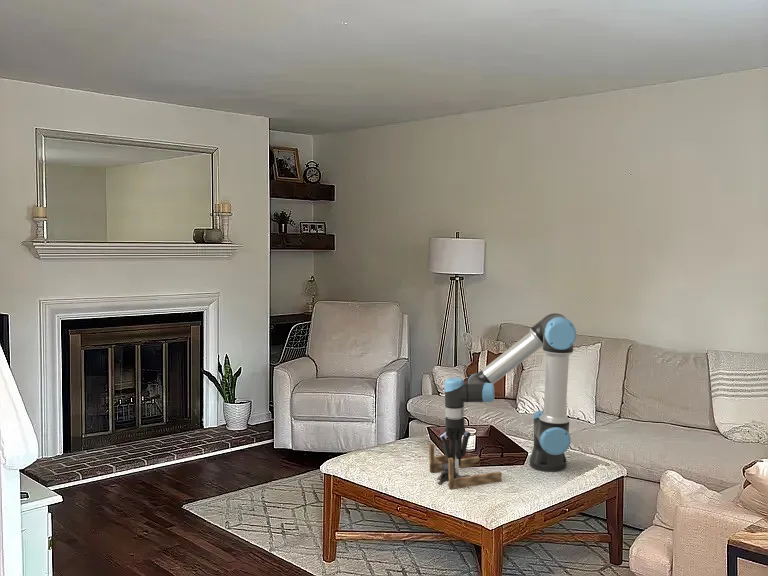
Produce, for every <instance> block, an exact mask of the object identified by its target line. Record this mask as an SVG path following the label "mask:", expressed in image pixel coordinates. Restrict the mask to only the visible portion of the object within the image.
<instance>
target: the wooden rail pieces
mask: <svg viewBox="0 0 768 576" xmlns="http://www.w3.org/2000/svg"><path fill="white" fill-rule="evenodd" d="M428 451H429V452H428V454H429V458H428V459H429V460H428V461H429V473H431V474H434V473H439V472H440V473H442V472H443V470H442V464H445V463H448V473H449V481H448V483H449V486H448V489H449V490H456V489H461V488H469V487H473V486H475V487H476V486H481V485H487V484H493V483H494V484H495V483H499V482H502V472H501V471H495V472H488V473H482V474H476V475H475V474H474V475H470V476H468V477H461V478H455V479H454V466H453V458H448V457H446V454H441V455H435V444H434V443H433V442H431V443H429V444H428ZM455 457H456V453H455ZM478 461H480V457H479V456H473V457H472V456H471V457H466V458H462V459H461V465H460V466H459V470H460V469H466V468H473V467H474V468H475V467H479V466H480V467H481V461H480V463H479V464H474V463H476V462H478Z"/></svg>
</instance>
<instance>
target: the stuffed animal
mask: <svg viewBox="0 0 768 576" xmlns="http://www.w3.org/2000/svg"><path fill="white" fill-rule="evenodd" d="M468 476H471V474H465V475H462V476H461V474H459V475H458V474H457V473H456V472H455V467H454V479H455V478H461V477H468ZM436 480H438V481H437V483H436V484H437V485H442V484H444V483H446V482H448V483H446V484H447V486H448V487H449V473H448V469H445V470H442V471H441V472H440V475H439V476H438V477H437V478H436Z"/></svg>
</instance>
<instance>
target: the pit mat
mask: <svg viewBox="0 0 768 576" xmlns="http://www.w3.org/2000/svg"><path fill="white" fill-rule="evenodd" d="M445 469H448V463H445V464H442V471H444V470H445Z"/></svg>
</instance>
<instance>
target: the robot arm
mask: <svg viewBox="0 0 768 576" xmlns="http://www.w3.org/2000/svg"><path fill="white" fill-rule="evenodd" d="M576 340H577V330H576V327H575V325H574V323H573V322H572V321H571V320H570V319H568V318H567V317H566V316H564V315H563V314H560V313H556V312H555V313H549V314H547V315H546V316H544V317H543V318H541V319H540V320H539V321H538V322H536V324H534V325H533V326H531V327H530V328H529V332H528V333H527V334H525V335H524V336H523V337H522V338H520V339H519V340H518V341H517V342H516V343H514V344H513V345H512V346H511V347H509V348H507V349H506V350H505V351H504V352H503V353H502V354H500V355H499V356H497V357H496V358H495V359H494V360H492V361H491V362H490V363H489V364H487V365H486V366H485V367H483V368H482V369H481V370H479V371H478V372H477V373H473V374H471V375H470V376H469V377H468V379H467V382H465V381H464V379H463V378H461V377H456V376H455V377H449V378H446V380H444V381H445V382H444V404H445V405H444V411H445V413H444V414H445V418H444V420H445V429H444V433H442V434H440V435H439V436H438V437H439V438H440V440H441V441H442V447H443V449H444V455H446V457H448V458H453V466H454V467H455V472H456V473H457V474H458V475H460V468H459V466H460V465H461V459H463V457H466V453H467V448H468V443H469V438H470V437H471V436H472V434H471V432H470V431H467V430H466V428H465V403H491V402H494V401H495V385H494V384H495V383H497V382H498V381H500V380H501V379H502V378H504V377H505V376H506V375H507V374H509V373H510V372H511V371H513V370H514V369H515V368H516V367H518V366H519V365H520V364H521V363H522V362H524V361H526V359H528V358H529V357H530V356H532V355H533V354H534V353H537V351H538V350H539V349H541V348H542V351H543V352H544V354H545V355H546V357H545V375H544V376H545V381H544V395H543V396H544V399H543V410H538V411H534V413H533V418H532V420H533V448H532V451H531V454H530V457H529V466H530V467H531V468H532V469H534V470H537V471H541V472H561V471H563V470H565V469H566V468H567V467H568V462H567V458H566V455H565V453H566V451H568V450H569V448H570V447H571V443H572V442H571V441H572V438H571V435H570V418H569V417H568V416H567V402H568V401H567V396H568V381H569V380H568V379H569V378H568V377H569V362H570V361H569V360H570V359H569V358H570V356H571V355H572V354H573V353H574V343H575V342H576ZM447 438H448V440H449V441H447ZM448 443H449V444H448ZM455 454H456V457H455Z"/></svg>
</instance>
